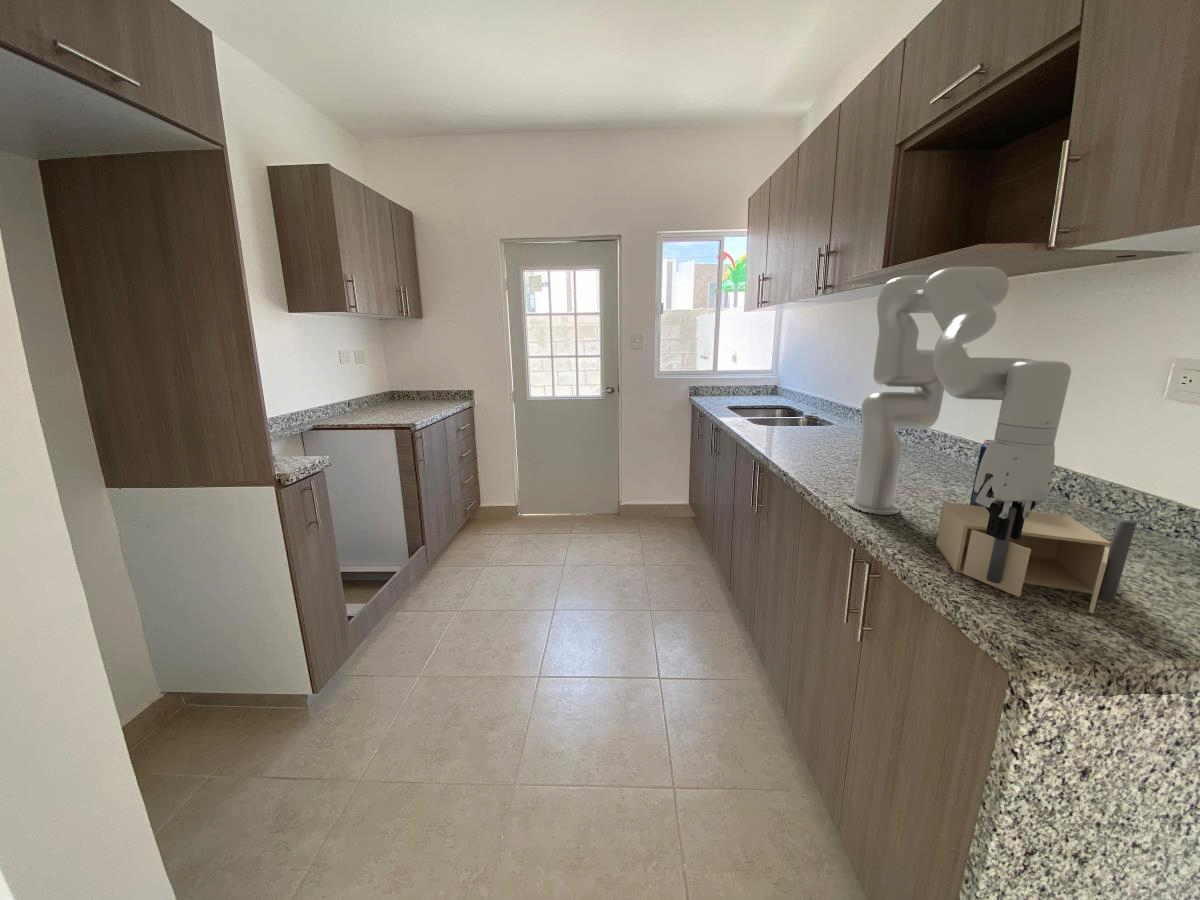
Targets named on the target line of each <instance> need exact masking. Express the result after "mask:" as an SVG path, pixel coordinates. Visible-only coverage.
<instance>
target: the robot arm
mask: <svg viewBox="0 0 1200 900" xmlns="http://www.w3.org/2000/svg"><path fill="white" fill-rule="evenodd" d="M1009 282H1010V281H1009V278H1008V276H1007V274H1006V273H1005V272H1004V271H1003V270H1002V269H1000V268H999V267H994V266H953V267H945V268H942V269H940V270H938V271H936V272H934V273H933V274H918V275H914V274H911V275H910V274H909V275H902V276H898V277H895V278H891V279H890V280H887V282H886V283H885V284H884V285H883V287H882V288H881V290H880V292H879V295H878V298H877V305H876V315H877V322H878V339H877V345H876V351H875V352H876V353H875V359H874V366H873V380H874V382H875V383H876V384H877V385H879V386H882V387H891V388H892V387H894V388H895V387H896V388H914V391H913V392H912V391H911V392H909V391H908V392H907V391H905V392H903V391H880V392H875V393H871V394H869V395H868V396H866V397H865V398H864V400H863V401H862V404H861V412H860V413H861V415H860V416H861V426H862V427H861V431H862V432H861V440H860V447H859V449H860V450H859V456H858V465H857V471H856V478H855V479H856V480H855V487H854V493H853V496H849V497H848V498H847V500H846V504H847V505H848V506H849V505H850V506H851V507H850V506H849V507H850V508H852V507H853V508H852V509H854V508H855V509H854V510H856V509H857V511H859V510H861V512H863V513H867V512H868V513H869V514H872V513H873V514H872V515H879V516H880V515H882V516H883V515H884V516H885V515H886V516H889V515H896V514H898V513H900V510H901V507H900V504H899V505H898V504H897V503H896V502H895V499H896V498H895V497H896V493H897V492H896V491H897V485H898V477H899V473H900V466H901V460H902V452H903V445H902V441H901V439H900V437H899V436H898V434H897V433H896V430H902V429H903V430H908V429H909V430H911V429H912V430H923V429H924V430H925V429H929V428H931V427H932V426H934V425H935V424H936V423H937V421H938V419H939V416H940V414H941V409H942V403H943V398H944V393H945V392H946V393H947V394H948V395H950V396H951V397H953V398H956V399H959V400H973V401H974V400H982V401H983V400H985V401H986V400H987V401H988V400H991V401H1001V404H1000V409H999V413H998V419H997V423H996V428H995V432H994V437H993V438H994V439H993V441H990V443H989V444H988V446H987V448H986V451H985V453H984V455H983V458H982V461H981V464H980V467H979V470H978V474H977V477H976V482H975V487H974V491H975V493H977V494H979V495H978V496H977V498H976V500H975V502H976V503H978V504H981V505H983V506H985V508H986V509H987V513H989V514H990V515H989V520H988V525H987V530H986V533H987V534H988V535H990V536H992V537H994V538H997V539H999V540H1005V539H1006V536H1007V532H1008V527H1009V523H1010V519H1008V518H1007V516H1008V512H1009V508H1010V506H1011V507H1014V508H1016V509H1017V511H1016V515H1015V520H1014V524H1013V529H1012V533H1011V538H1013V539H1015V540H1019V539H1020V537H1021V533H1022V528H1023V524H1024V520H1025V519H1024V518H1027V517H1028V516H1029V513H1030V512H1032V511H1033V509H1035V507H1037V506H1039V505H1042V504H1044V503H1045V502H1046V498H1047V496H1048V495H1049V492H1050V488H1051V484H1052V481H1053V474H1054V470H1055V469H1054V467H1055V456H1056V455H1055V454H1056V447H1055V442H1056V438H1057V433H1058V429H1059V425H1060V420H1061V416H1062V412H1063V409H1064V404H1065V400H1066V394H1067V391H1068V386H1069V383H1070V379H1071V373H1072V369H1071V366H1070V365H1069V364H1068V363H1066V362H1064V361H1058V360H1053V361H1052V360H1034V359H1029V358H1023V357H970V356H969V355H968V353H967V351H966V350H965V349H964V346H963V345H965V344H969V343H971V342H974V341H976V340H977V339H979V338H981V337H983V336H985V334H987V333H988V332H990V330H991V329H992V328H994V326H995V324H996V322H997V312H996V311H995V310H994V308H995V307H997V306H999V305H1000V304H1001V303H1002V302H1003V301H1004V299H1006V297H1007V295H1008V292H1009V288H1010V283H1009ZM911 314H932V315H934V318H935V320H936V322H937V324H938V326H939V327H940V329H941V332H942V333H941V335H940V336H939V338H938V339H937V341H936V343H935V347H934V349H918V347H917V345H918V340H919V334H920V333H919V332H920V331H919V327H918V325H917V323H916V321H915V319H914V317H913V316H912V315H911ZM944 391H945V392H944ZM997 503H1001V506H999V505H998V504H997Z"/></svg>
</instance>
